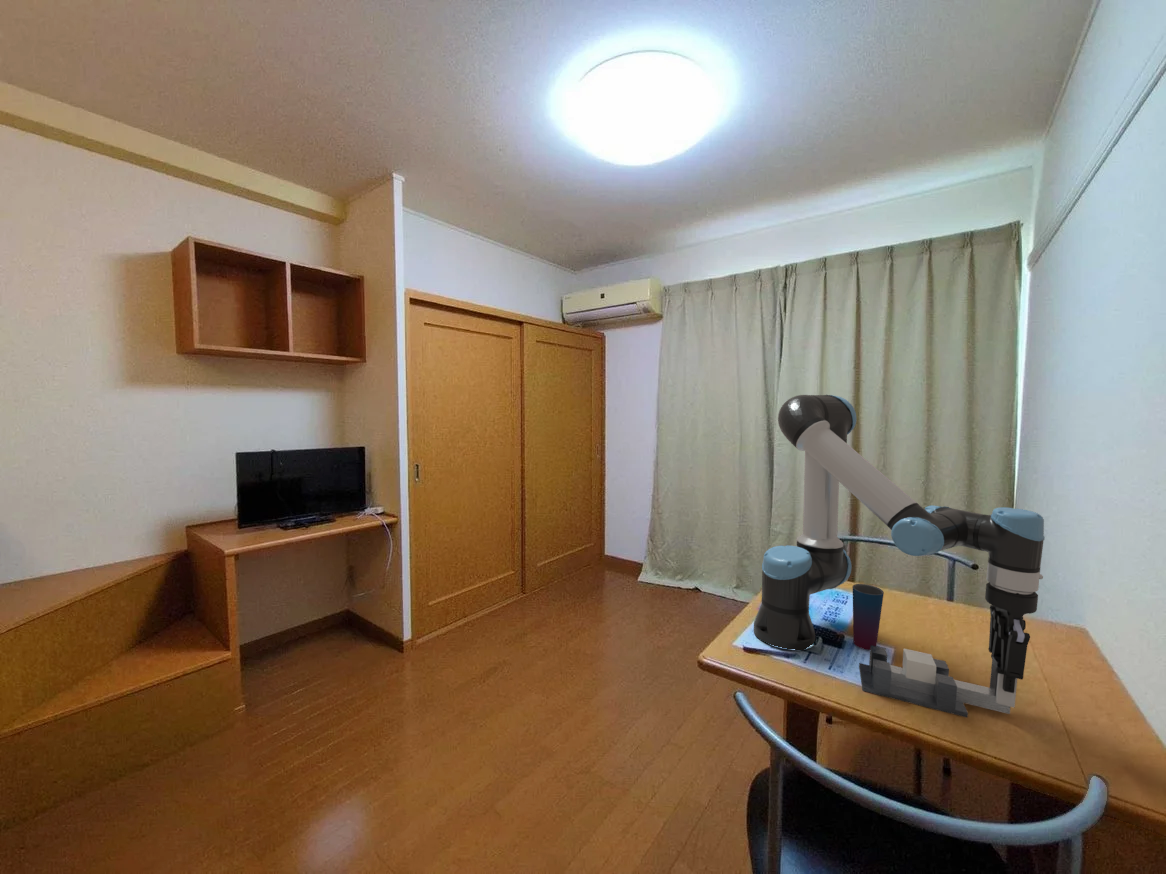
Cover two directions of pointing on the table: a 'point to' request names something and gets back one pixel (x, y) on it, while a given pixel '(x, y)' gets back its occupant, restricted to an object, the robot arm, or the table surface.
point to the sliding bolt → (958, 688)
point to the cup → (866, 614)
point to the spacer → (919, 666)
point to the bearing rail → (879, 683)
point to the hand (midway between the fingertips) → (1001, 698)
